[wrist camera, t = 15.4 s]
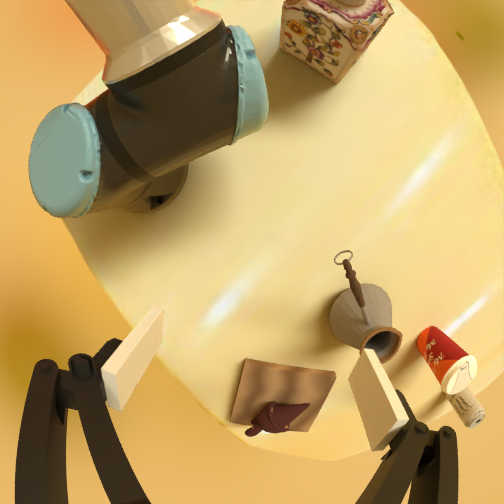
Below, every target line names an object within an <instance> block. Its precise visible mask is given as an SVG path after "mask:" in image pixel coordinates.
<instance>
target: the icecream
mask: <svg viewBox="0 0 504 504" xmlns="http://www.w3.org/2000/svg"><path fill="white" fill-rule="evenodd" d="M309 406H310V403H301V404H287V405H279V404H278V403H277V402H275V401H274V402H272V403H269V405H267V406H265V407H264V408H263V409H262V410H261V411H260V413H259V414H257V415H256V418H254V419H253V420H251V424H252V425H254V426H253V427H251V428H249V429H247V430H246V431H245V434H246V435H247V436H249V437H252V436H255V435H257V434H258V433H259V432H261V431H262V430H264V431H266V432H270V433H280V432H285V431H289V430H290V428H289V427H290V423H291V422H292V421H293V420H294V419H296V418H297V417H298V416H299V415H300V414H301V413H302V412H303V411H305V410H306V409H307V408H308V407H309Z"/></svg>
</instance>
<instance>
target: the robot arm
mask: <svg viewBox="0 0 504 504" xmlns="http://www.w3.org/2000/svg"><path fill="white" fill-rule="evenodd" d="M65 1H66V2H67V4H68V5H69V6H70V7H71V9H72V10H73V12H74V13H75V14H76V16H77V17H78V18H79V20H80V21H81V22H82V24H83V25H84V27H85V28H86V29H87V31H88V32H89V33H90V35H91V36H92V37H93V39H94V40H95V41H96V42H97V44H98V45H99V47H100V48H101V50H102V51H103V52H104V53H105V55H106V62H105V66H104V70H103V75H102V80H103V82H104V83H105V85H106V86H107V87H108V90H106V91H105V92H103V93H102V94H100V95H99V96H98V97H96V98H95V99H94V100H92V101H91V102H90V103H88V104H87V105H85V106H83V105H81V104H79V103H70V104H62V105H59V106H58V107H56V108H54V109H53V110H51V111H50V112H49V113H48V114H47V115H46V116H45V118H44V119H43V120H42V121H41V123H40V125H39V126H38V128H37V130H36V133H35V135H34V138H33V141H32V144H31V151H30V155H29V179H30V184H31V187H32V191H33V194H34V196H35V198H36V200H37V202H38V203H39V205H40V206H41V207H42V208H43V209H44V210H45V211H47V212H48V213H50V214H51V215H52V216H54V217H58V218H66V217H75V218H78V217H81V216H83V215H85V214H88V213H92V212H97V211H101V210H106V209H110V208H115V207H121V208H123V209H125V210H127V211H130V212H135V213H146V212H151V211H155V210H158V209H160V208H163V207H164V206H166V205H167V204H169V203H170V202H171V201H172V200H173V199H174V198H175V197H176V196H177V195H178V194H179V192H180V191H181V189H182V187H183V185H184V183H185V180H186V177H187V172H188V163H189V162H191V161H193V160H195V159H197V158H199V157H201V156H204V155H206V154H208V153H210V152H212V151H215V150H217V149H219V148H221V147H224V146H226V145H233V144H234V143H236V142H237V140H239V139H241V138H243V137H245V136H247V135H250V134H252V133H254V132H256V131H258V130H259V129H261V128H262V126H263V125H264V124H265V122H266V121H267V118H268V113H269V101H268V93H267V87H266V82H265V78H264V74H263V70H262V67H261V64H260V61H259V60H258V58H257V57H256V52H255V48H254V45H253V43H252V40H251V38H250V37H249V35H248V33H247V32H246V31H245V30H244V28H242V27H241V26H239V25H228V26H225V24H224V22H223V20H222V18H221V16H220V14H219V13H216V12H213V11H209V10H206V9H203V8H200V7H198V6H196V5H195V4H194V2H193V0H65ZM163 315H164V309H163V308H159V307H156V306H152V307H151V308H150V310H149V311H148V312H147V313H146V314H145V316H144V317H143V318H142V319H141V320H140V321H139V323H138V324H137V325H136V326H135V327H134V329H133V330H132V331H131V332H130V334H129V335H128V336H127V337H126V338H125V340H124V341H121V340H118V339H116V338H113V339H111V340H109V341H107V342H106V343H105V345H104V346H103V347H102V348H101V349H100V350H99V352H98V353H97V354H96V355H95V356H94V357H93V358H92V357H91V356H89V355H87V354H81V353H80V354H75V355H73V356H71V357H70V359H69V362H68V365H69V369H70V371H67V370H62V369H58V366H57V364H56V362H54V361H53V360H50V359H43V360H40V361H38V362H37V363H36V365H35V367H34V371H33V374H32V378H31V381H30V385H29V389H28V393H27V397H26V402H25V406H24V411H23V416H22V422H21V427H20V433H19V441H18V448H17V458H16V472H15V504H68V494H67V478H66V431H67V430H66V429H67V414H68V408H70V409H74V410H78V412H79V416H80V419H81V423H82V427H83V431H84V434H85V437H86V441H87V444H88V447H89V450H90V453H91V456H92V459H93V462H94V464H95V467H96V470H97V472H98V474H99V478H100V480H101V482H102V485H103V487H104V490H105V492H106V494H107V496H108V498H109V500H110V503H111V504H151V503H150V501H149V500H148V498H147V496H146V494H145V493H144V491H143V489H142V487H141V485H140V483H139V482H138V480H137V478H136V476H135V474H134V472H133V470H132V468H131V466H130V463H129V461H128V459H127V457H126V455H125V453H124V451H123V448H122V446H121V443H120V441H119V439H118V436H117V434H116V431H115V429H114V426H113V423H112V421H111V418H110V415H109V412H108V409H107V407H106V403H105V401H106V400H107V404H108V407H110V408H113V409H115V410H117V411H120V412H122V410H123V408H124V407H125V405H126V403H127V401H128V400H129V398H130V396H131V394H132V393H133V391H134V389H135V388H136V386H137V384H138V382H139V381H140V379H141V377H142V376H143V374H144V372H145V371H146V369H147V367H148V366H149V364H150V362H151V360H152V359H153V357H154V356H155V354H156V352H157V351H158V349H159V347H160V346H161V344H162V330H163ZM348 380H349V383H350V385H351V388H352V391H353V394H354V397H355V400H356V403H357V406H358V409H359V412H360V415H361V418H362V421H363V424H364V427H365V430H366V434H367V437H368V440H369V443H370V446H371V450H372V451H379V450H383V449H385V447H386V446H387V445H388V444H389V445H390V448H391V449H390V450H389V451H388V452H387V453H386V454H385V455H384V456H383V457H382V458H381V460H383V461H382V463H381V464H380V466H379V468H378V469H377V471H376V473H375V474H374V476H373V478H372V479H371V481H370V482H369V484H368V485H367V487H366V489H365V490H364V492H363V493H362V494H361V496H360V497H359V499H358V500H357V502H356V503H355V504H401V502H402V500H403V498H404V496H405V494H406V492H407V490H408V488H409V485H410V483H411V481H412V483H411V489H410V495H409V500H408V504H458V450H457V438H456V432H455V431H454V430H453V429H452V428H451V427H449V426H443V427H442V428H440V430H439V431H432V430H429V429H428V427H427V425H426V424H424V423H423V422H419V421H417V420H416V418H415V416H414V414H413V412H412V410H411V408H410V406H409V405H408V403H407V402H406V399H405V397H404V395H403V394H402V393H401V392H400V391H399V390H394V388H393V386H392V384H391V382H390V380H389V378H388V376H387V374H386V372H385V370H384V369H383V367H382V365H381V363H380V361H379V359H378V357H377V356H376V354H375V352H374V350H373V349H363V351H362V353H361V355H360V357H359V359H358V361H357V363H356V365H355V367H354V369H353V371H352V373H351V375H350V377H349V379H348Z"/></svg>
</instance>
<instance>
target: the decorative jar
mask: <svg viewBox="0 0 504 504" xmlns="http://www.w3.org/2000/svg"><path fill="white" fill-rule="evenodd" d="M392 14H394V11H393V9H392V7H391V4H390V3H389V2H388V1H387V0H286V1H284V4H283V6H282V17H281V30H280V48H281V49H282V50H283V51H285V52H287V53H289V54H291V55H292V56H294V57H296V58H297V59H299V60H301V61H303V62H304V63H306V64H307V65H309V66H310V67H312V68H313V69H315V70H317V71H318V72H320V73H321V74H323V75H324V76H326V77H327V78H329V79H330V80H331V81H333V82H334V83H336V84H338V83H339V82H340V81H341V80H342V78H343V77H344V76H345V75H346V73H347V72H348V71H349V70H350V69H351V68H352V66H353V65H354V64H355V63H356V61H357V60H358V59H359V58H360V57H361V55H362V54H363V53H364V52H365V50H366V49H367V48H368V46H369V45H370V43H371V42H372V41H373V40H374V38H375V37H376V36H377V34H378V33H379V32H380V30H381V29H382V27H383V26H384V25H385V23H386V22H387V21H388V19H389V18H390V16H391V15H392Z"/></svg>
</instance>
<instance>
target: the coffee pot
mask: <svg viewBox="0 0 504 504" xmlns="http://www.w3.org/2000/svg"><path fill="white" fill-rule="evenodd" d="M344 252H350V253H351V254H352V252H351V251H349V250H345V251H342V252H340V253H338V254H337V255H336V256H335V258H334V262H335V259H336V258H337V256H338V255H340V254H341V253H344ZM352 257H353V254H352V256H351V257H350V258H349V259H348V260H347V259H345V260H343V263H337V262H335V263H336V264H337V265H342V264H343V266H344V269H345V270H346V278H347V279H349V282H350V288H348V289H347V290H345V291H344V292H342V293H341V294H340V295H339V297H338V298H337V299H336V300H335V302H334V304H333V306H332V308H331V311H330V315H329V325H330V328H331V331H332V333H333V334H334V336H335V337H336V338H337V339H339V340H340V341H341V342H343V343H345V344H348V345H350V346H352V347H354V348H356V349H359V350H360V355H361V353H362V351H363V349H373V350H374V352H375V354H376V356H377V357H378V359H379V361H380V363H381V364H383V363H385V362H387V361H389V360H390V359H391V358H392V357H393V356H394V355H395V354H396V353H397V351H398V350H399V347H400V345H401V341H402V333H401V332H399V331H398V330H396V329H395V328H392V306H391V301H390V298H389V296H388V295H387V293H386V292H385V291H384V290H383V289H382V288H380V287H378V286H376V285H373V284H360V283H359V282H358V280H357V279H356V277H355V276H356V272H355V271H354V270H352V266H351V264H350V262H349V261H350V260H351V258H352Z"/></svg>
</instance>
